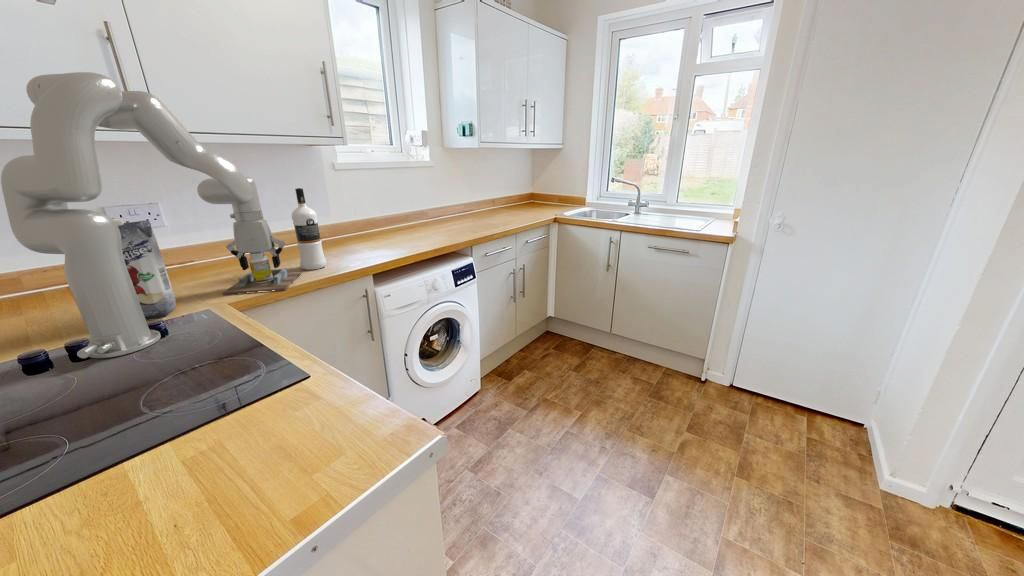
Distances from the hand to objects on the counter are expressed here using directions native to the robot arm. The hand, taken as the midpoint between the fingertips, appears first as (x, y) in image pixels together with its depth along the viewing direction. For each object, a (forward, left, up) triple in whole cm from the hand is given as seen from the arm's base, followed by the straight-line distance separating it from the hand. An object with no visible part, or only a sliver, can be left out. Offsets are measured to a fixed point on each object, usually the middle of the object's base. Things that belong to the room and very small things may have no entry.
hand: (261, 267), depth 130 cm
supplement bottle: (0, 0, -5) cm, 5 cm away
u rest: (0, 0, -6) cm, 6 cm away
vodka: (+18, -11, -6) cm, 22 cm away
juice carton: (-22, +21, -6) cm, 31 cm away
